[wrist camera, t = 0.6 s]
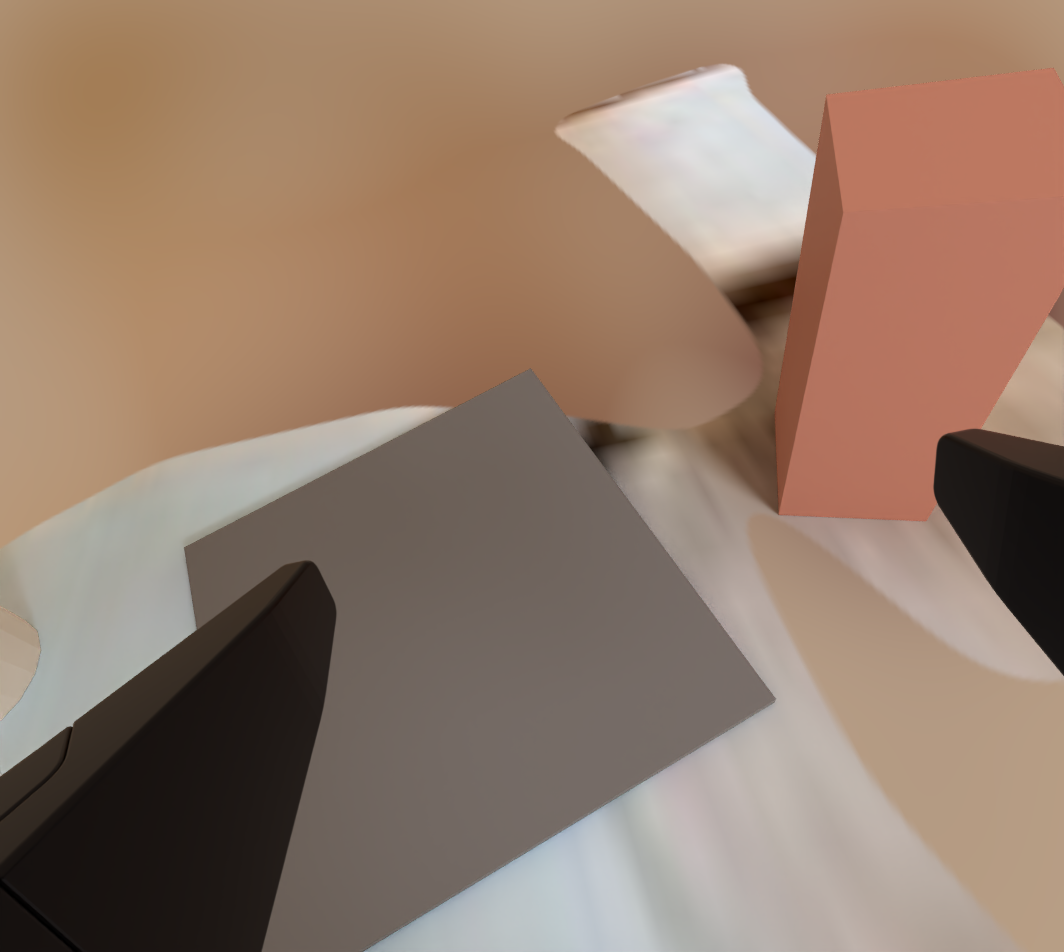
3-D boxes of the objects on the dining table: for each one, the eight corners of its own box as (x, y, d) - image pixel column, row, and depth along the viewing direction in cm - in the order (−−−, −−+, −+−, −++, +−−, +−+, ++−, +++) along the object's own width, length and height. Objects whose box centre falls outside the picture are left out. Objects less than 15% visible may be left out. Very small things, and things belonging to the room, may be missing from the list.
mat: (774, 702, 21) (775, 698, 20) (264, 1011, 19) (256, 1012, 19) (532, 374, 31) (530, 368, 31) (189, 551, 29) (184, 547, 29)
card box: (925, 521, 23) (1120, 192, 13) (778, 514, 24) (843, 212, 14) (906, 413, 26) (1053, 68, 15) (774, 413, 27) (826, 94, 17)
